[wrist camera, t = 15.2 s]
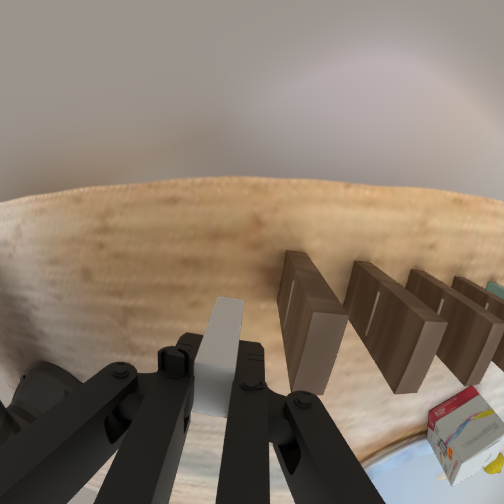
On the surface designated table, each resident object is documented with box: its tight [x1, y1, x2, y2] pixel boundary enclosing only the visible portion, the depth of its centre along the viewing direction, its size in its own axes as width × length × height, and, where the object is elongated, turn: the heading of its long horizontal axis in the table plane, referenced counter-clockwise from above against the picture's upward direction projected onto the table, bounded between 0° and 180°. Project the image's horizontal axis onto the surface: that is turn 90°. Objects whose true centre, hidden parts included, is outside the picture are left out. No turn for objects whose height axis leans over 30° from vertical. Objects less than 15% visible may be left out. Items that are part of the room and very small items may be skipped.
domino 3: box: [406, 269, 504, 386], centre depth 20 cm, size 2×5×13 cm, turn 172°
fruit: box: [483, 452, 504, 474], centre depth 32 cm, size 6×6×8 cm
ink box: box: [427, 386, 504, 487], centre depth 25 cm, size 9×9×12 cm
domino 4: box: [451, 276, 504, 372], centre depth 20 cm, size 2×5×13 cm, turn 172°
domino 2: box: [343, 261, 448, 394], centre depth 20 cm, size 2×5×13 cm, turn 172°
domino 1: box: [277, 250, 349, 395], centre depth 20 cm, size 2×5×13 cm, turn 171°
